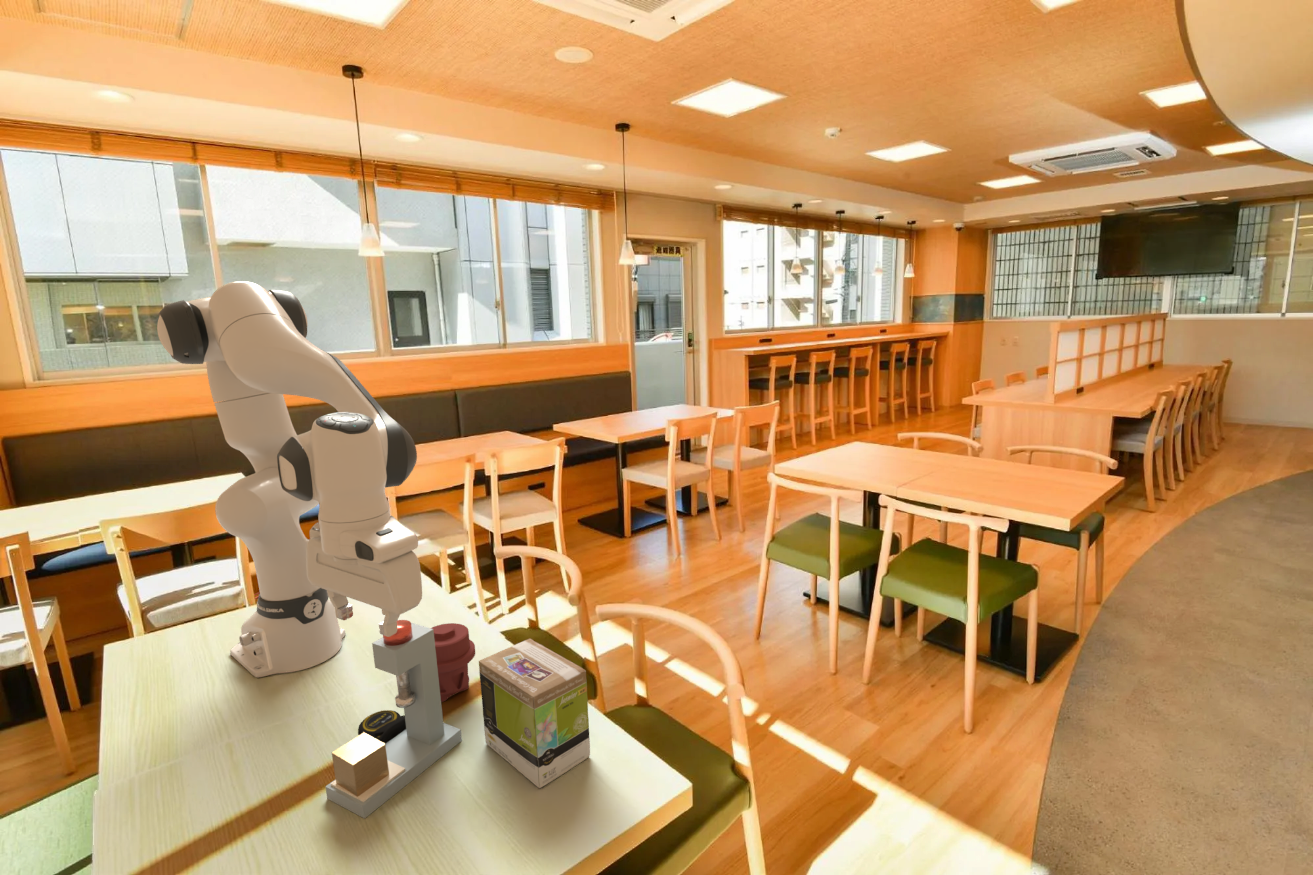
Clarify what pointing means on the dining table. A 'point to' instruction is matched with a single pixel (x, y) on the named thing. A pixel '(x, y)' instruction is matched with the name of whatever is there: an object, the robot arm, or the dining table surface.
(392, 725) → the tape measure
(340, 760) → the block
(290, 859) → the dining table surface
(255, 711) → the dining table surface
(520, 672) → the tea box
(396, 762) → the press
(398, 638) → the button
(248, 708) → the dining table surface
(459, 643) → the mechanical component
